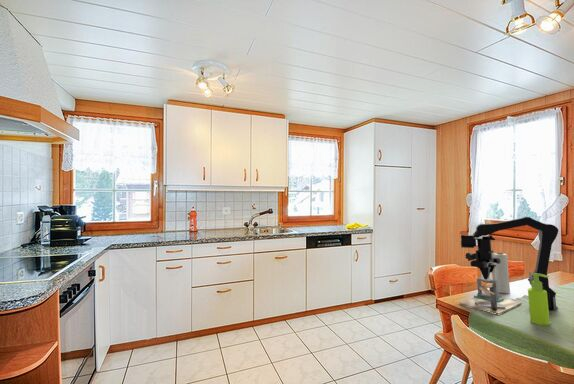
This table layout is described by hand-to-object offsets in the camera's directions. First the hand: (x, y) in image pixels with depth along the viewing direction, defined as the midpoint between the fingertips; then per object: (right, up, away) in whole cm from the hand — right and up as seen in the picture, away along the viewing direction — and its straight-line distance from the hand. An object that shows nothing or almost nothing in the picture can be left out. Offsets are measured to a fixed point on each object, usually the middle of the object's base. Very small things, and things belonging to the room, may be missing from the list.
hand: (486, 279), depth 141 cm
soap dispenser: (+2, -9, -28) cm, 30 cm away
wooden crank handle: (-2, -10, -7) cm, 12 cm away
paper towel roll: (+18, -12, +13) cm, 25 cm away
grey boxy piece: (0, -9, -1) cm, 9 cm away
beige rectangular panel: (-3, -11, -6) cm, 13 cm away
